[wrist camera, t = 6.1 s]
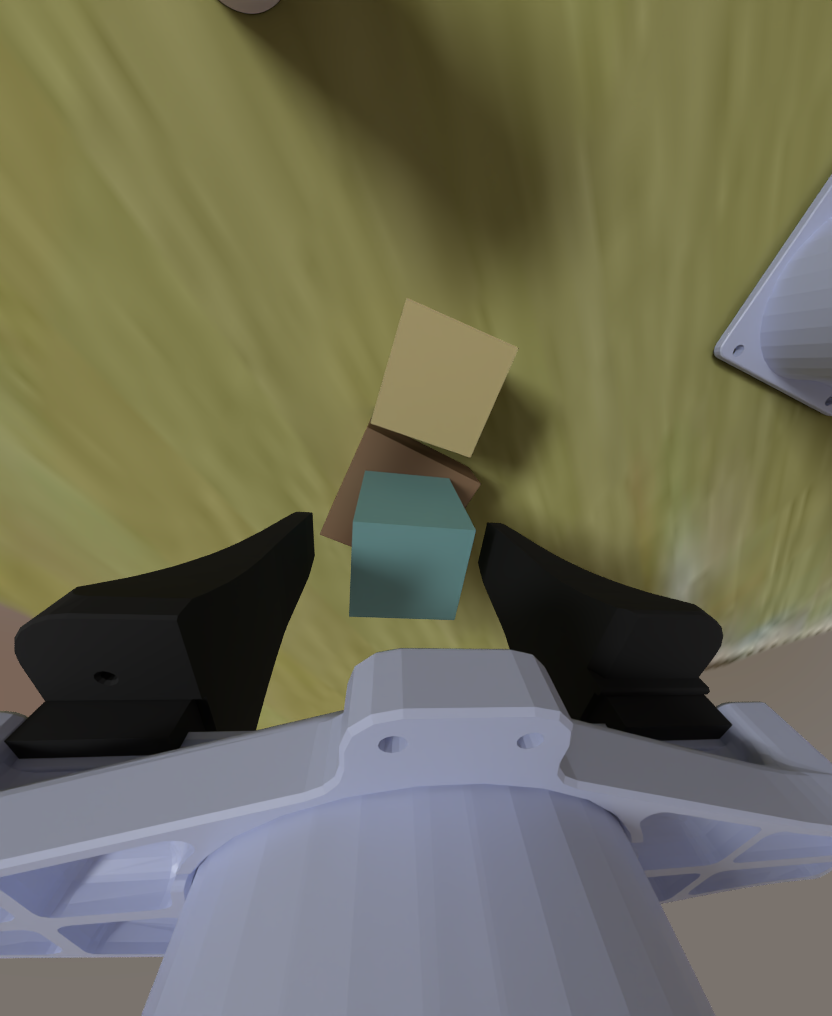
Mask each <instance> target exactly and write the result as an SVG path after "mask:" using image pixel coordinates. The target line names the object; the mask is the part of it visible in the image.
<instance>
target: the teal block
mask: <svg viewBox="0 0 832 1016" xmlns="http://www.w3.org/2000/svg"><path fill="white" fill-rule="evenodd" d="M475 532H476V530H475V528H474V526H473V524H472V522H471V520H470V518H469V516H468V514H467V512H466V510H465V508H464V506H463V504H462V502H461V500H460V499H459V497H458V495H457V493H456V491H455V489H454V487H453V485H452V483H451V481H450V479H449V478H440V477H429V476H418V475H408V474H397V473H386V472H375V471H365V473H364V477H363V481H362V486H361V490H360V494H359V498H358V502H357V506H356V511H355V515H354V519H353V531H352V557H351V582H350V608H349V617H379V618H409V619H439V620H454V619H455V615H456V611H457V607H458V603H459V599H460V594H461V590H462V586H463V582H464V578H465V574H466V570H467V565H468V561H469V557H470V553H471V549H472V545H473V541H474V536H475Z"/></svg>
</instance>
